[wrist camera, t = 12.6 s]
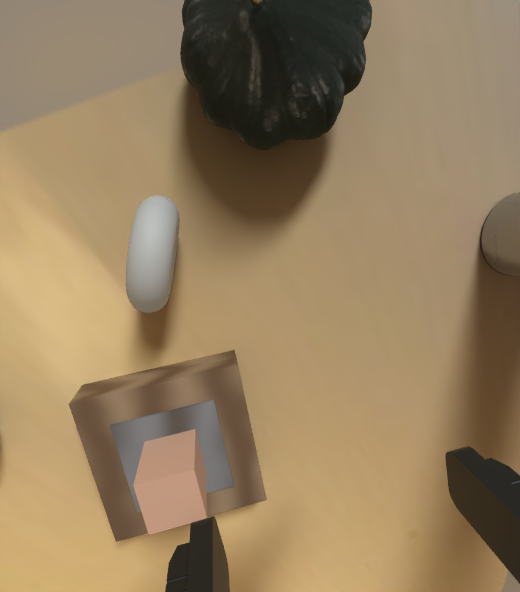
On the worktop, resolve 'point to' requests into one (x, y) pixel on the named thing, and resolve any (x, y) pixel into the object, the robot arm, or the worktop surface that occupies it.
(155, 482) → the terracotta block
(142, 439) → the walnut base
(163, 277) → the donut
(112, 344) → the worktop surface
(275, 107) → the squash
